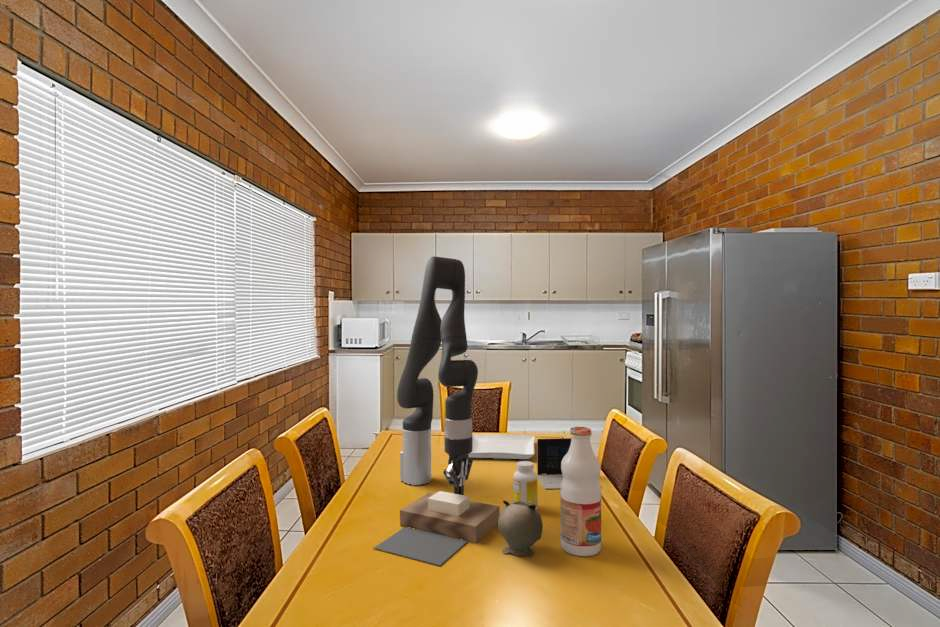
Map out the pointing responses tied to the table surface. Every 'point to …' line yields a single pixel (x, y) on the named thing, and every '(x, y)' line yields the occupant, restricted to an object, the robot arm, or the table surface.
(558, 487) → the laptop
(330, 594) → the table surface
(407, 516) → the brown wooden block
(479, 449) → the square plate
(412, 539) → the mat
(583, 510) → the fruit juice
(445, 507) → the thick cream block
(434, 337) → the robot arm
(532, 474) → the supplement bottle
